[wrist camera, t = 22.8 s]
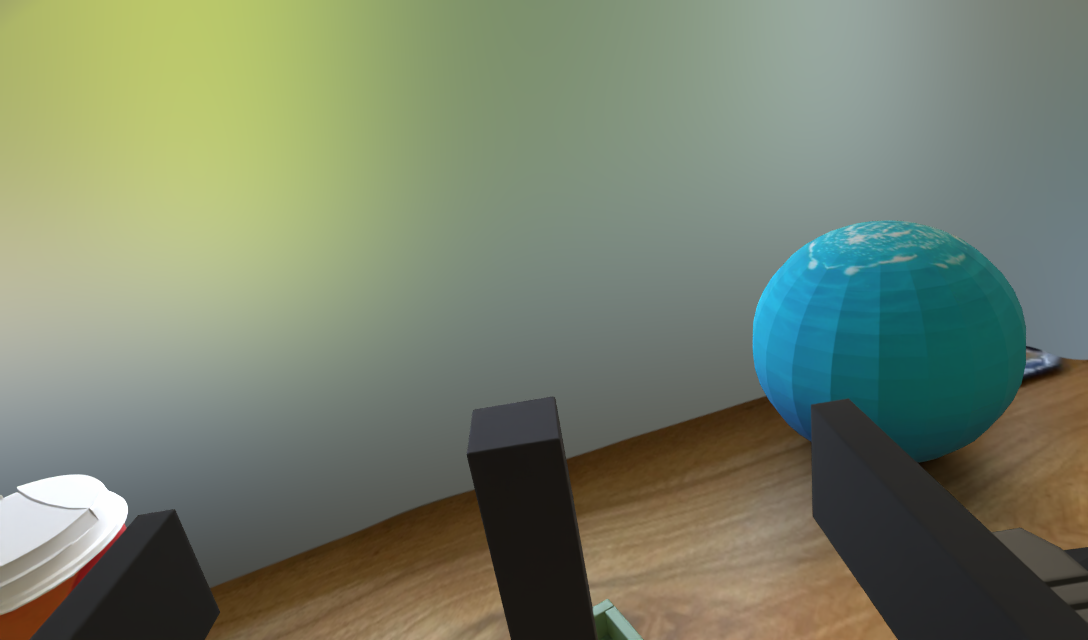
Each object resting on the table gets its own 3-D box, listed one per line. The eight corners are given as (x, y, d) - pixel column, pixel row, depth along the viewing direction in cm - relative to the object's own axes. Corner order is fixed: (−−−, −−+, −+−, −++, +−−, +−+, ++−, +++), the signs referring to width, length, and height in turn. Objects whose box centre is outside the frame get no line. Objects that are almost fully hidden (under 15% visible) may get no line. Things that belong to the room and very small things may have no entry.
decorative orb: (1068, 447, 39) (1103, 206, 34) (911, 557, 33) (924, 285, 28) (852, 372, 52) (853, 188, 47) (711, 442, 46) (694, 240, 41)
